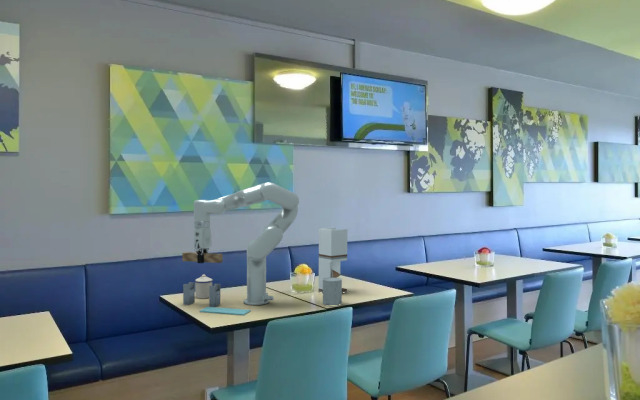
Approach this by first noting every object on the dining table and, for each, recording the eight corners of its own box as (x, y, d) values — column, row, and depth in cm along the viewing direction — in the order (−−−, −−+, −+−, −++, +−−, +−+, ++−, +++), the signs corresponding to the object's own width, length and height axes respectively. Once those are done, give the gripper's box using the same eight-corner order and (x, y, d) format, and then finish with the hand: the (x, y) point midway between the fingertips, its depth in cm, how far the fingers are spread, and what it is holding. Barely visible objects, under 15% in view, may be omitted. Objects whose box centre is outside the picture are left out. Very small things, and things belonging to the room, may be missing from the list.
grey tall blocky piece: (331, 295, 269) (331, 230, 268) (318, 292, 278) (318, 228, 277) (346, 292, 276) (347, 229, 275) (334, 289, 285) (334, 227, 284)
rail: (222, 261, 246) (222, 253, 246) (219, 262, 243) (219, 254, 242) (185, 260, 251) (185, 252, 251) (182, 261, 248) (182, 252, 248)
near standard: (220, 304, 248) (220, 284, 248) (214, 307, 242) (214, 286, 242) (214, 303, 249) (214, 283, 248) (209, 306, 243) (209, 286, 243)
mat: (250, 311, 235) (250, 309, 235) (243, 315, 227) (243, 314, 227) (207, 307, 240) (207, 306, 240) (199, 312, 233) (199, 310, 233)
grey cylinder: (328, 307, 244) (328, 281, 244) (319, 302, 252) (319, 278, 252) (345, 304, 248) (345, 280, 248) (335, 300, 257) (336, 276, 256)
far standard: (194, 302, 252) (194, 282, 251) (188, 305, 246) (188, 284, 246) (189, 302, 252) (189, 282, 252) (183, 304, 247) (183, 284, 246)
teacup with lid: (214, 298, 262) (214, 275, 261) (196, 299, 258) (196, 276, 258) (209, 293, 273) (209, 271, 272) (192, 294, 269) (192, 273, 269)
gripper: (200, 226, 237) (201, 265, 238) (216, 223, 253) (217, 260, 254) (186, 226, 239) (187, 265, 240) (203, 223, 255) (203, 259, 256)
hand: (202, 262), depth 247 cm, fingers closed on rail, 3 cm apart
